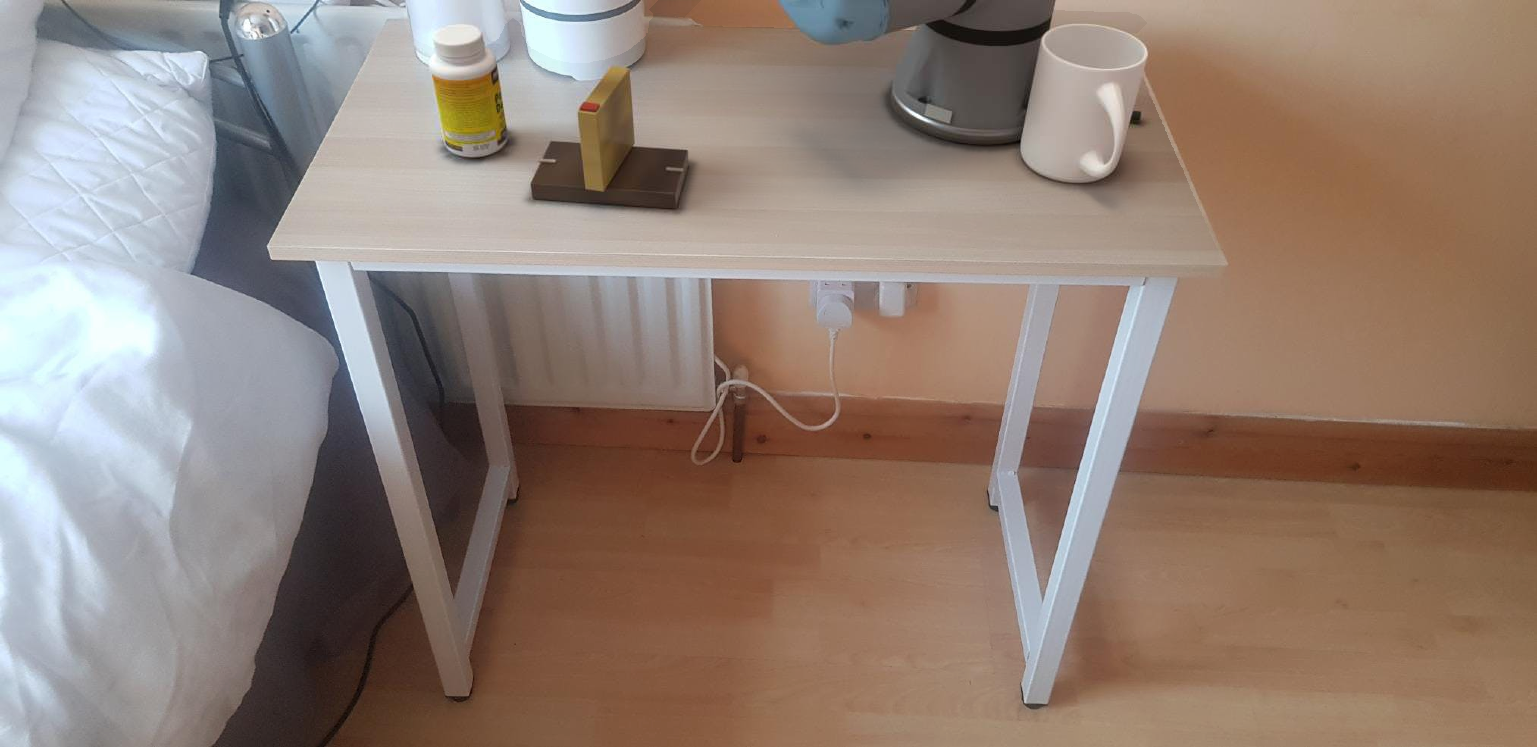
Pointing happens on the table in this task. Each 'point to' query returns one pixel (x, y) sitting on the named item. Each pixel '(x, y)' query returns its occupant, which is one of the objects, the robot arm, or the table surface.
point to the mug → (1081, 101)
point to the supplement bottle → (467, 92)
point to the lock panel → (636, 182)
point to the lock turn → (606, 128)
